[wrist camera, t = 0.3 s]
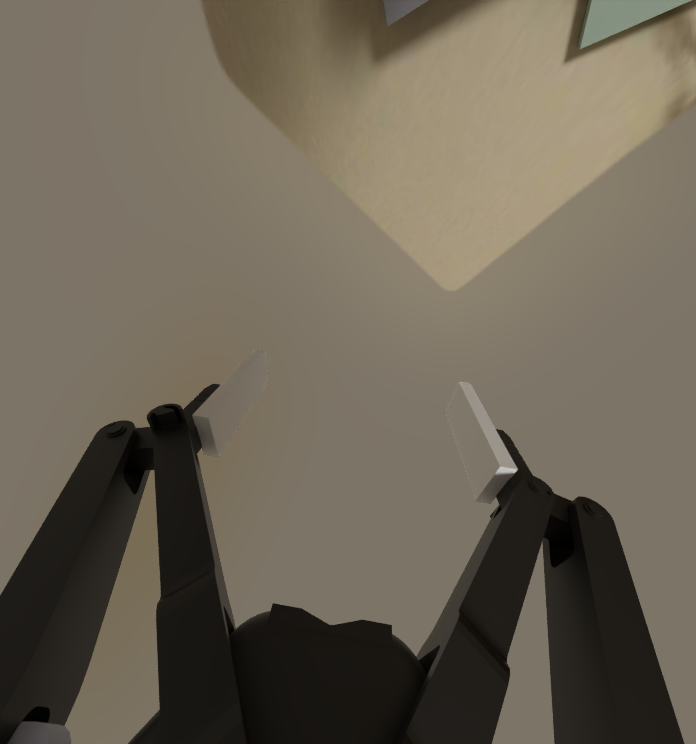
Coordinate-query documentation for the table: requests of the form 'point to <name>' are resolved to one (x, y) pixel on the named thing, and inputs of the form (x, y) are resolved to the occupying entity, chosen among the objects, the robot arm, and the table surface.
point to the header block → (399, 8)
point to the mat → (619, 16)
